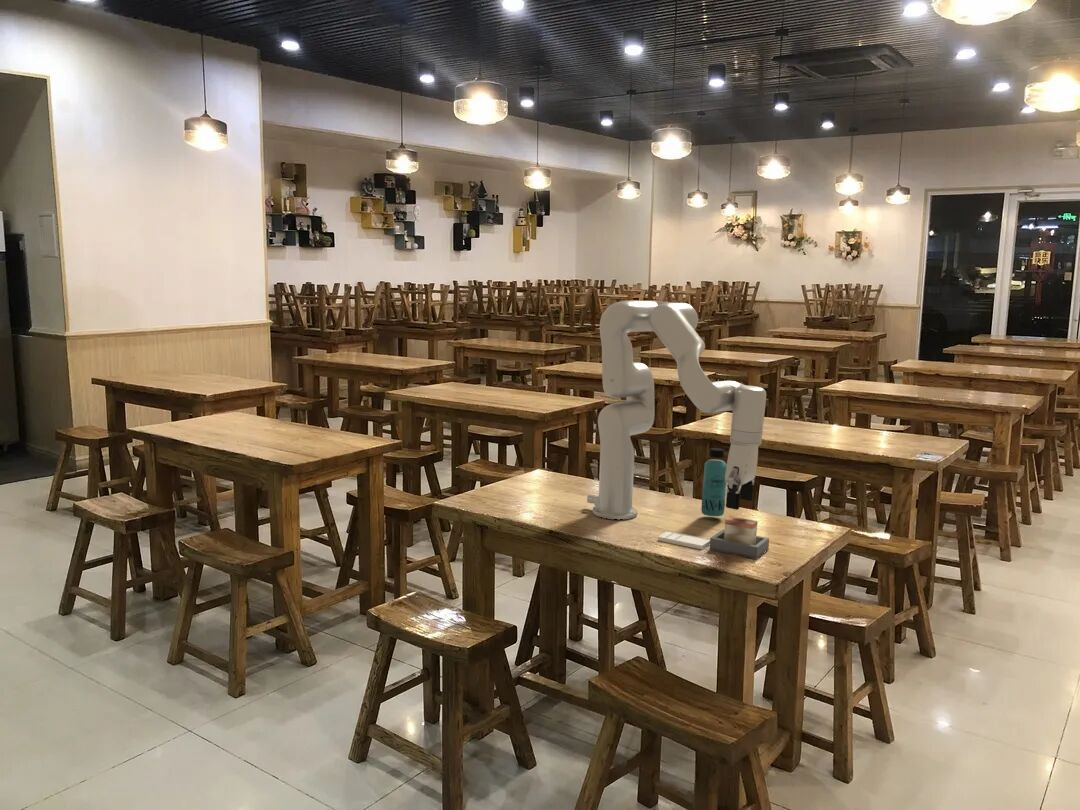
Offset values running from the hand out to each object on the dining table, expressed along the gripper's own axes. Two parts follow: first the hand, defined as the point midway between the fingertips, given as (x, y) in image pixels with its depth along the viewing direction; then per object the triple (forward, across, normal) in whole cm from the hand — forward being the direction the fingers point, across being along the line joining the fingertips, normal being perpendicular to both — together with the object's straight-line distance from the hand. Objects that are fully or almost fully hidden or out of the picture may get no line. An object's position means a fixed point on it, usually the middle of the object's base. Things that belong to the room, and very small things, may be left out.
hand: (739, 503), depth 211 cm
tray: (+12, 0, +1) cm, 12 cm away
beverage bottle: (+12, -22, -14) cm, 29 cm away
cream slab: (+12, +3, -12) cm, 17 cm away
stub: (+11, 0, +1) cm, 11 cm away
